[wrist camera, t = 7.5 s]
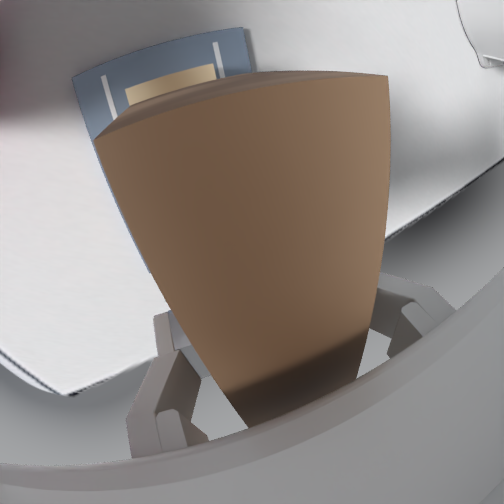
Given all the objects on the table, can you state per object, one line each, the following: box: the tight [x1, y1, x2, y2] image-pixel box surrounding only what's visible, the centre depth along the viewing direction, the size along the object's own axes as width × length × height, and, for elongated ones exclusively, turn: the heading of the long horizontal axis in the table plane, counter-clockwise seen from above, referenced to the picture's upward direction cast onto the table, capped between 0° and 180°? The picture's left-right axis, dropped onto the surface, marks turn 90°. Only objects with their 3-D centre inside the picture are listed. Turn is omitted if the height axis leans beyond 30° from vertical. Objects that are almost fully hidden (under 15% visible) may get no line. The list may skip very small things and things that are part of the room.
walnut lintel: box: [93, 71, 391, 428], centre depth 9 cm, size 4×13×6 cm, turn 11°
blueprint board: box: [72, 27, 252, 273], centre depth 23 cm, size 14×20×1 cm
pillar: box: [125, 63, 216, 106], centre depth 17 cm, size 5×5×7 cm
